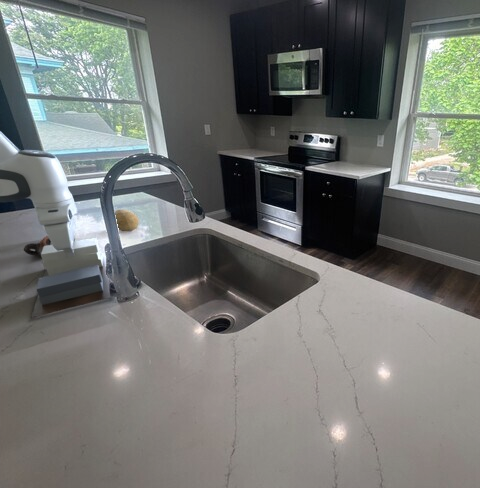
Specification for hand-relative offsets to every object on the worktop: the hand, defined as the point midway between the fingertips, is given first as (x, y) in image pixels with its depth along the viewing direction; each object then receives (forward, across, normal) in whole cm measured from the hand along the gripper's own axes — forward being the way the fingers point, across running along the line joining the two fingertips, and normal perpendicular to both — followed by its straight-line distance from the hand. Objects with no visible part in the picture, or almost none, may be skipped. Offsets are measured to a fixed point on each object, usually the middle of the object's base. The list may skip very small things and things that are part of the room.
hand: (72, 251), depth 92 cm
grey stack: (+5, +16, 0) cm, 17 cm away
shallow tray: (+7, +8, 0) cm, 11 cm away
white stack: (+5, 0, 0) cm, 5 cm away
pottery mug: (+7, -16, -8) cm, 19 cm away
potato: (+7, -30, +15) cm, 34 cm away
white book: (0, 0, 0) cm, 0 cm away
